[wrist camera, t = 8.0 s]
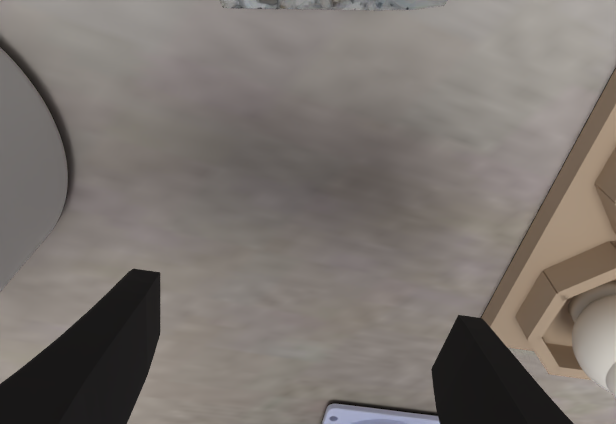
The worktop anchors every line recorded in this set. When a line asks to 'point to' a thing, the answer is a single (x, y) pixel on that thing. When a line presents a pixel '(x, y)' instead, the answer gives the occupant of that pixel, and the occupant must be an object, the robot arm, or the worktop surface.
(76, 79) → the worktop surface
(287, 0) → the egg carton
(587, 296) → the cream egg
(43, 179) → the cylinder vase
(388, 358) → the worktop surface
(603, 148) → the egg tray
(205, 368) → the worktop surface
